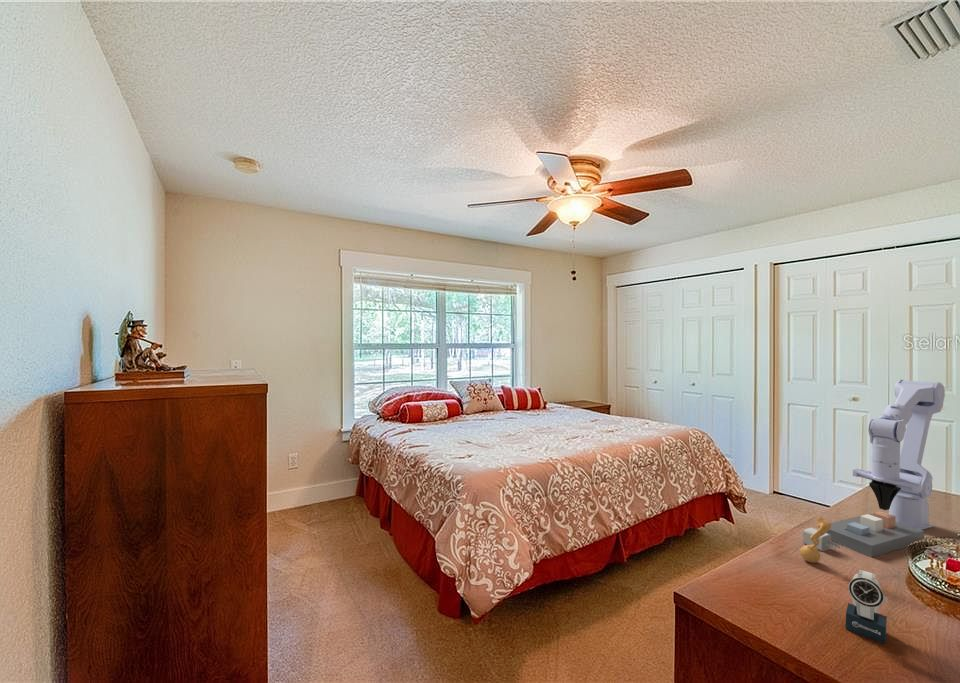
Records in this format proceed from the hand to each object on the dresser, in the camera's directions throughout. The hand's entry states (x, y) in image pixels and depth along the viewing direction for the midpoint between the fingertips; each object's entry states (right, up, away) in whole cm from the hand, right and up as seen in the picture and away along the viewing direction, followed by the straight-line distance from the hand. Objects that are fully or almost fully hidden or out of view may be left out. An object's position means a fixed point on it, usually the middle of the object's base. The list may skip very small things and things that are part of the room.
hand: (884, 509), depth 119 cm
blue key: (-11, -6, -4) cm, 14 cm away
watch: (-41, -8, -39) cm, 57 cm away
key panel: (-6, -8, -2) cm, 10 cm away
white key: (-6, -5, -2) cm, 8 cm away
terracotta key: (0, -5, 0) cm, 5 cm away
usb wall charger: (-24, -8, -8) cm, 26 cm away
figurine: (-32, -8, -15) cm, 36 cm away
